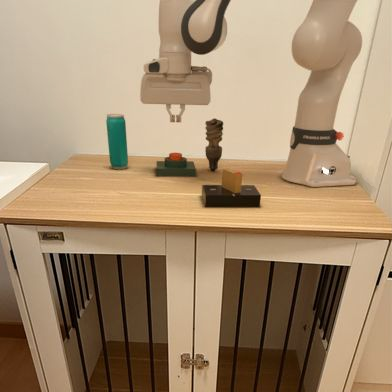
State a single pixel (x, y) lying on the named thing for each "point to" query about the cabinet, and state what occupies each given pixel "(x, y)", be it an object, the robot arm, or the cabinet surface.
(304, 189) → the cabinet surface
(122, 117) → the beverage can
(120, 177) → the cabinet surface
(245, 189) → the panel
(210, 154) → the light bulb
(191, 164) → the button block
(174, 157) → the button
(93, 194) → the cabinet surface
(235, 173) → the tan rectangular block
